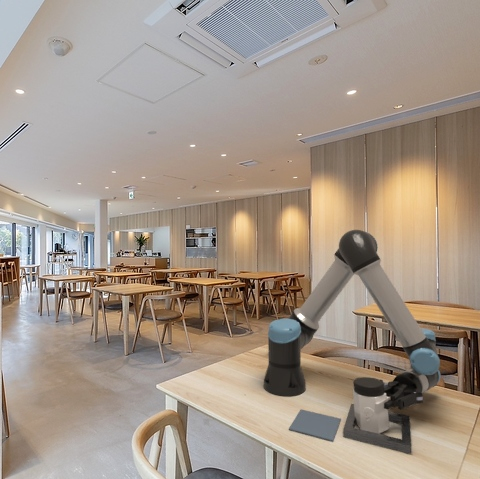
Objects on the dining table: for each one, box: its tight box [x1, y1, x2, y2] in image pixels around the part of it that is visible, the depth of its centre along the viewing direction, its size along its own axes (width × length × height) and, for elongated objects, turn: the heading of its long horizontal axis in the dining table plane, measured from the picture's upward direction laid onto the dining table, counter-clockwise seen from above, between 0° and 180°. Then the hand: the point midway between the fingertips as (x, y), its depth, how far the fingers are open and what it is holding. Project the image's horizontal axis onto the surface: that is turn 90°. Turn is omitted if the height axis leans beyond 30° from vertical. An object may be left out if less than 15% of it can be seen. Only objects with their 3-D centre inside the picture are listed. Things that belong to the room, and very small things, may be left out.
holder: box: [342, 403, 412, 455], centre depth 88 cm, size 16×16×2 cm
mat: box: [288, 409, 342, 443], centre depth 90 cm, size 12×12×1 cm
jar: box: [352, 376, 390, 434], centre depth 90 cm, size 9×8×12 cm
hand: (371, 407), depth 86 cm, fingers closed on jar, 2 cm apart
